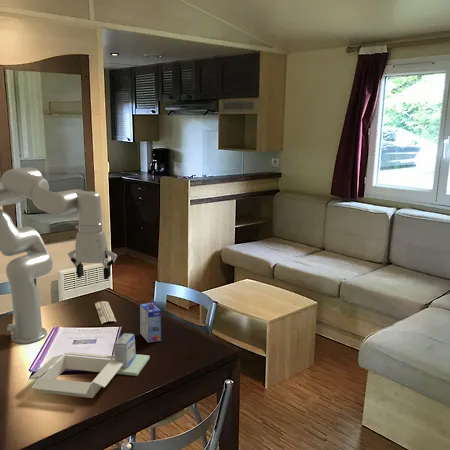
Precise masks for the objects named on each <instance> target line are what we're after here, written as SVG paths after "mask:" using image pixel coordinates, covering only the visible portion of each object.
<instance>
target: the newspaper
mask: <svg viewBox="0 0 450 450" xmlns="http://www.w3.org/2000/svg"><path fill="white" fill-rule="evenodd" d="M94 305H95V309H96V311H97V314H98V318H99V320H100V324H101V325H104V324H105V323H107V322H114V323H117V320H116V317H115V314H114V312H113V310H112V308H111V304H110V303H109V301H97V302H95V303H94Z"/></svg>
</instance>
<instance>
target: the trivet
mask: <svg viewBox="0 0 450 450" xmlns="http://www.w3.org/2000/svg"><path fill="white" fill-rule="evenodd" d="M113 356H115V354H114V355H113ZM150 358H151V357H150V355H146V354H139V353H138V354H136V357H135V358H134V360H133V361H132V362H131V364H130V365H129V367H128V368H123V367H121V368H120V369H119V370H118V372H117V373H116V374H117V375H125V376H135V377H137V376H138V375H139V374H140V372H141V371H142V369H143V368H144V367H145V365H146V364H147V362H148V361H149V360H150ZM110 360H112V359H110ZM113 360H115V358H114V359H113ZM116 374H115V375H116Z"/></svg>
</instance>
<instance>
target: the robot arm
mask: <svg viewBox="0 0 450 450" xmlns="http://www.w3.org/2000/svg"><path fill="white" fill-rule="evenodd" d="M26 199H28V200H31V201H32V203H33V205H34V206H35V207H36V208H37V209H38V210H40V211H42V212H45V213H47V214H50V215H54V216H63V215H67V214H71V213H76V212H77V217H78V218H77V220H78V224H75V229H78V232H77V233H76V236H75V249H74V250H72V251H70V252H68V253H67V255H68V257H69V259H70V261H71V263H73V265H74V266H75V271H76V275H77V276H76V277H77V279H79V278H82V277H83V276H84V263H86V264H102V265H103V279H104V280H108V279H109V278H110V276H111V267H112V265H113V264H115V262H116V259H117V257H118V255H117V254H116V253H115V252H114V251H111V250H110V249H108V242H107V238H106V233H105V231H103V220H102V219H103V216H102V202H101V201H102V200H101V195H100V193H99V192H97V191H92V190H91V191H85V190H83V189H80V188H79V189H77V188H76V189H70V190H69V189H68V190H63V191H57V192H54V191H50V184H49V182H48V180H47V179H46V178H44V177H43V175H42V172H41V171H40V170H39V169H37V168H36V167H31V166H29V167H28V166H27V167H20V168H11V169H9V170H6V171H5V172H4V173H3V174H2V175H1V179H0V207H2V206H9V205H16V204H18V203H21V202H23V201H24V200H26ZM0 253H1V254H2V255H3V256H5V257H12V256H13V257H14V256H16V255H21V254H22V253H26V254H25V255H21V256H18V257H16V258H14V259H12V260H10V261H9V262H8V264H7V265H6V267H5V272H6V276H7V281H8V283H9V287H10V292H11V301H12V302H11V303H12V311H13V321H14V323H9V324H7V328H6V331H7V332H12V334H11V337H10V338H11V341H12V342H13V343H15V344H31V343H35V342H38V341H40V340H43V339H44V338H45V337H46V336H47V335H48V331H47V329H46V328H43V324H42V321H43V320H42V311H41V301H40V291H39V287H38V286H37V285H36V284H35V282H34V280H36V279H37V278H40V277H42V276H46V275H47V274H49V273H51V272H52V269H53V267H54V264H53V259H52V256H51V254H50V252H49V250H48V248H47V246H46V244H45V242H44V240H43V238H42V236H41V235H40V233H39V232H38V230H36V229H35V228H34V227H32V226H20V227H17V226H16V225H15V223H14V222H13V219H12V217H11V216H10V215H9V214H8V213H7V212H6V211H5V210H3V209H2V208H0ZM109 257H110V260H109Z"/></svg>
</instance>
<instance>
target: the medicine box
mask: <svg viewBox="0 0 450 450" xmlns="http://www.w3.org/2000/svg"><path fill="white" fill-rule="evenodd" d="M135 336H136V335H135V334H134V333H122V334H121V335H120V337H118V339H117V340H115V342H114V343H113V352H114V353H113V354H114V355H115V360H116V361H118V362H120V363H122V364H123V365H122V367H123V368H128V367H129V365H130V364H131V362H132V361H133V360H134V358H135V357H136V339H135V338H136V337H135Z"/></svg>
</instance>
